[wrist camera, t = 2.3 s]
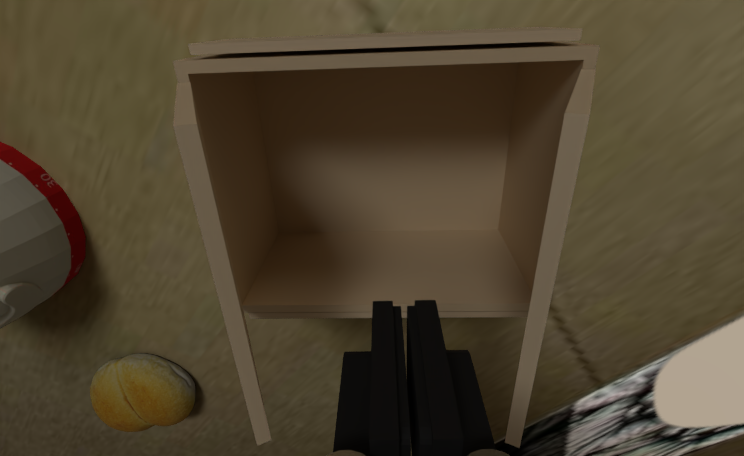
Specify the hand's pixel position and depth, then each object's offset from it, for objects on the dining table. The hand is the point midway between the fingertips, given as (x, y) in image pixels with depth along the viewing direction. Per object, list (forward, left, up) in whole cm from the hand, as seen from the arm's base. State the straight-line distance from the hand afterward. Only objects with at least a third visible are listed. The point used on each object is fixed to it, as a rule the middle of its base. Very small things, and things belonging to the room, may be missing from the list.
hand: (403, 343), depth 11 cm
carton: (+1, 0, -18) cm, 18 cm away
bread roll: (+4, +32, -19) cm, 37 cm away
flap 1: (+7, +6, -9) cm, 13 cm away
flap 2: (-6, -5, -9) cm, 12 cm away
